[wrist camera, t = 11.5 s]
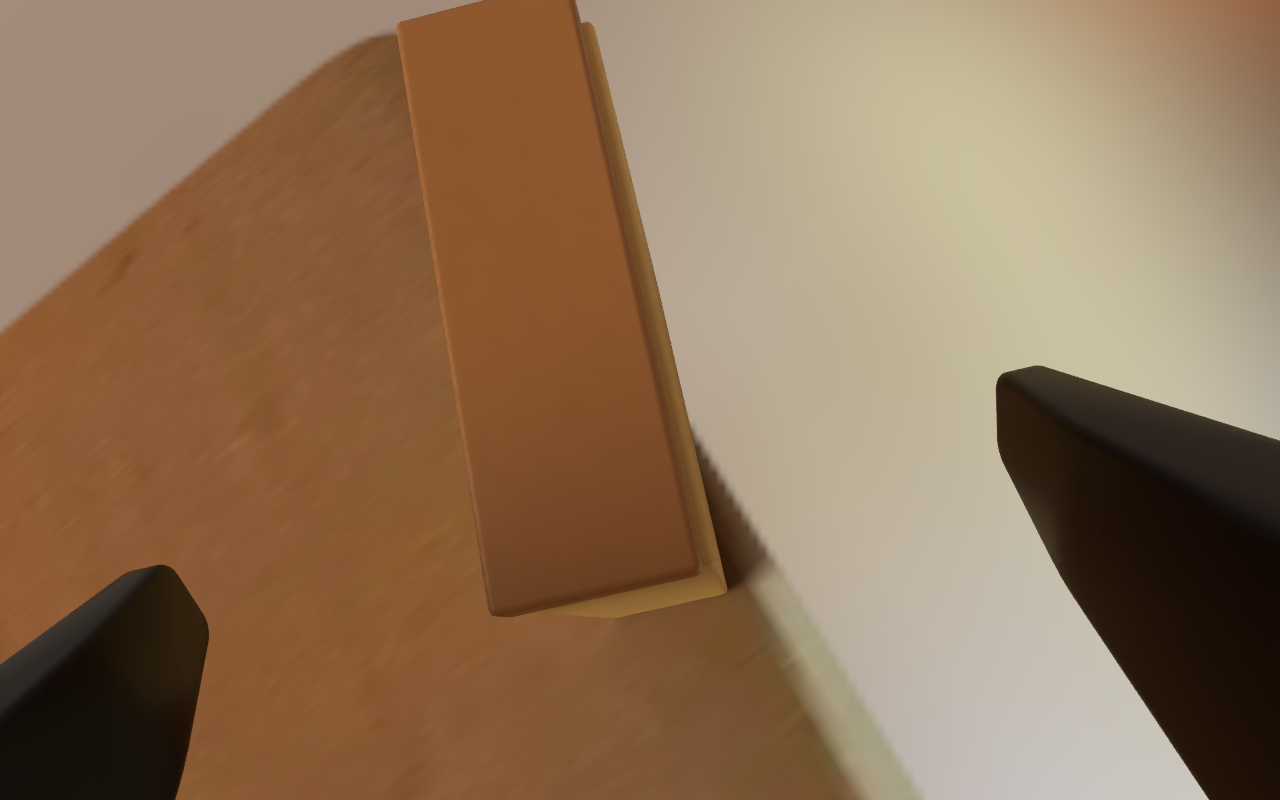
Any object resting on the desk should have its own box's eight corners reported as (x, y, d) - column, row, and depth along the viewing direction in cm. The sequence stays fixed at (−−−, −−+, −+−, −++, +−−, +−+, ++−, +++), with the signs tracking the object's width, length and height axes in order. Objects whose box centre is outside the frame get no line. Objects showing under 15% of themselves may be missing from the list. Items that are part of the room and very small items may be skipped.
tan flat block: (729, 598, 18) (717, 568, 9) (611, 624, 19) (472, 621, 9) (657, 282, 20) (580, -28, 11) (550, 307, 20) (381, 23, 11)
